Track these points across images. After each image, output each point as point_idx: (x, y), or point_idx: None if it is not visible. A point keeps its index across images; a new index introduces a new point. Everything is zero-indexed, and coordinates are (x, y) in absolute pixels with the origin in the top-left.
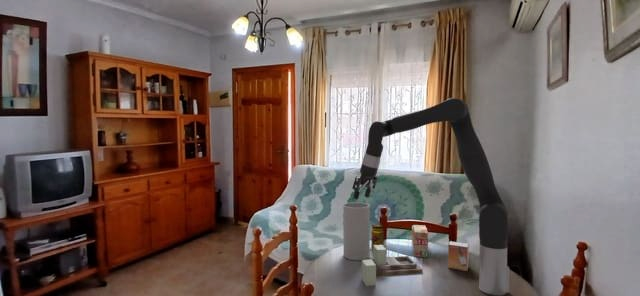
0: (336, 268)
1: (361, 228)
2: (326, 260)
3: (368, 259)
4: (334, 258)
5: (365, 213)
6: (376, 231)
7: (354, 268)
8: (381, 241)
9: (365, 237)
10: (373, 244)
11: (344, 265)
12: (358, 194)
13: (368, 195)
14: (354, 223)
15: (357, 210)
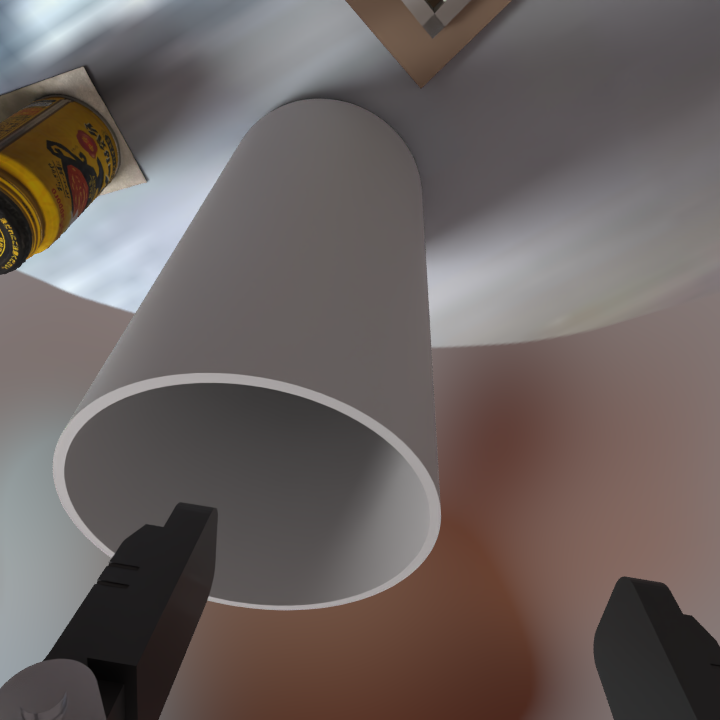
0: (600, 198)
1: (378, 241)
2: (500, 310)
3: (433, 35)
4: (445, 289)
5: (303, 318)
6: (35, 197)
7: (548, 90)
8: (41, 120)
9: (337, 171)
10: (105, 172)
11: (526, 180)
12: (715, 692)
13: (197, 545)
14: (423, 331)
15: (410, 420)
